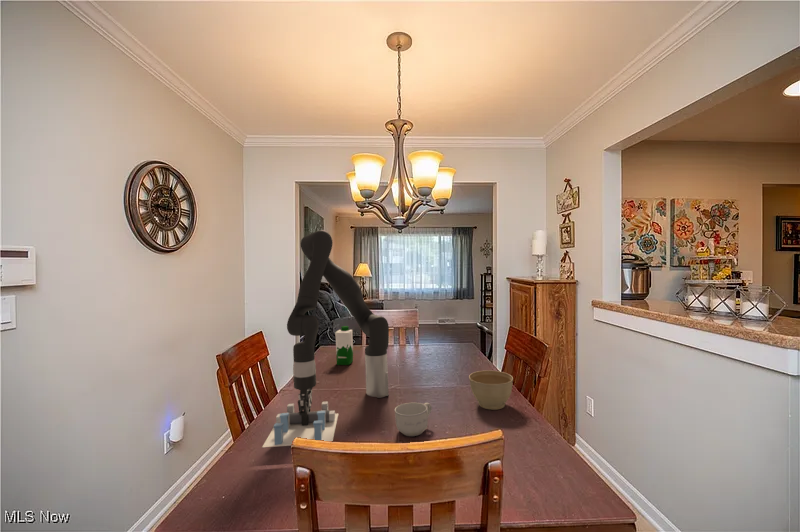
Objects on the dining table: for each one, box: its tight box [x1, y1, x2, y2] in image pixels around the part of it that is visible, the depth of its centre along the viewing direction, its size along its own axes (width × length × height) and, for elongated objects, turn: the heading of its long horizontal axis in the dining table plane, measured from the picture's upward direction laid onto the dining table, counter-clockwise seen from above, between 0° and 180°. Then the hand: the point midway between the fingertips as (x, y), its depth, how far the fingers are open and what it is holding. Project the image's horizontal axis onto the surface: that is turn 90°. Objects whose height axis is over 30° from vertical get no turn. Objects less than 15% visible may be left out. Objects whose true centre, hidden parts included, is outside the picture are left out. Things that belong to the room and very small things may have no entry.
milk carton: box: [334, 325, 354, 366], centre depth 197 cm, size 9×9×20 cm
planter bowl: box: [468, 369, 514, 411], centre depth 136 cm, size 16×16×11 cm
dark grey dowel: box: [275, 409, 336, 424], centre depth 124 cm, size 20×4×4 cm, turn 95°
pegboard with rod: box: [261, 400, 339, 449], centre depth 119 cm, size 21×21×6 cm
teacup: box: [394, 401, 432, 437], centre depth 117 cm, size 14×11×8 cm
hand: (306, 422), depth 124 cm, fingers closed on dark grey dowel, 3 cm apart
